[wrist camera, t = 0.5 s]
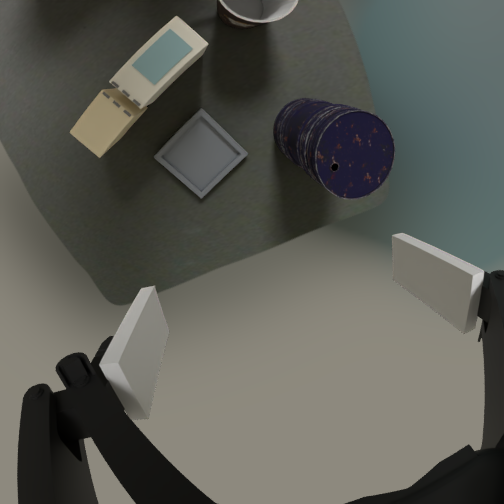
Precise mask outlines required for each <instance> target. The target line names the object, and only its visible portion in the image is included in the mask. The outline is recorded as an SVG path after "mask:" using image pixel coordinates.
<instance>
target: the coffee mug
mask: <svg viewBox="0 0 504 504" xmlns="http://www.w3.org/2000/svg"><path fill="white" fill-rule="evenodd" d="M297 3H298V0H217V10H218V14H219V17H220V18H221V20H222V21H223V22H224V23H225V24H227V25H229V26H230V27H233V28H237V29H248V28H251V27H255V26H258V25H261V24H265V23H268V22H272V21H276V20H279V19H281V18H283V17H285V16H287V15H288V14H289V13H291V11H292V10H293V9H294V8H295V6H296V5H297Z"/></svg>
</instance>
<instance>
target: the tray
mask: <svg viewBox="0 0 504 504" xmlns="http://www.w3.org/2000/svg"><path fill="white" fill-rule="evenodd" d="M247 155H248V153H247V152H246V151H245V150H244V149H243V148H242V147H241V146H240V145H239V144H238V143H237V142H236V141H235V140H234V139H233V138H232V137H231V136H230V135H229V134H228V133H227V132H226V131H225V130H224V129H223V128H222V127H221V126H220V125H219V124H218V123H217V122H216V121H215V120H214V119H213V118H212V117H211V116H210V115H209V114H208V113H206V112H205V111H204V110H203V109H202V108H200V109H199V110H198V111H197V112H196V113H195V114H194V115H193V116H192V117H191V118H190V119H189V120H188V121H187V122H186V123H185V124H184V125H183V126H182V127H181V128H180V129H179V130H178V131H177V132H176V133H175V134H174V135H173V136H172V137H171V138H170V139H169V140H168V141H167V142H166V143H165V144H164V146H163V147H162V148H161V149H160V150H159V151H158V152H157V153H156V154H155V155H154V158H155V159H156V160H157V161H158V162H159V163H161V164H162V165H163V166H164V167H165V168H166V169H168V170H169V171H170V172H171V173H172V174H173V175H175V176H176V177H177V178H178V179H179V180H180V181H181V182H183V183H184V184H185V185H186V186H187V187H188V188H190V189H191V190H192V191H193V192H194V193H195V194H197V195H198V196H199V197H200V198H201V199H202V198H203V197H204V196H205V195H206V194H207V193H208V192H209V191H210V190H211V189H212V188H213V187H214V186H215V185H216V184H217V183H218V182H219V181H220V180H221V179H222V178H223V177H224V176H225V175H226V174H227V173H229V172H230V171H231V170H232V169H233V168H234V167H235V166H236V165H237V164H238V163H239V162H240V161H241V160H242V159H243V158H245V157H246V156H247Z"/></svg>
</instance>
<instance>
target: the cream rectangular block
mask: <svg viewBox="0 0 504 504" xmlns="http://www.w3.org/2000/svg"><path fill="white" fill-rule="evenodd" d="M147 108H148V107H147V106H145V107H143V108H141V109H140V108H139V107H138V106H137V105H136V104H135V103H133V102H132V101H131V100H130V99H129V98H128V97H126V96H125V95H124V94H123V93H122V92H121V91H119V90H118V89H117V88H113V89H104V90H102V91H101V92H100V93H99V94H98V95H97V97H96V98H95V99H94V100H93V102H92V103H91V104H90V105H89V107H88V108H87V109H86V111H85V112H84V113H83V115H82V116H81V117H80V119H79V120H78V121H77V123H76V124H75V125H74V127H73V128H72V130H71V131H70V132H69V133H71V134H72V135H73V136H74V137H75V138H76V139H78V140H79V141H80V142H81V143H82V144H84V145H85V146H86V147H87V148H88V149H90V150H91V151H92V152H93V153H94V154H96V155H97V156H98V157H99V158H100V157H101V156H102V155H104V154H105V153H106V152H107V151H108V150H109V149H110V148H111V147H112V146H113V145H114V144H115V143H117V142H118V141H119V140H120V139H121V138H122V137H123V136H124V134H125V133H126V132H127V131H128V130H129V129H130V127H131V126H132V125H133V124H134V123H135V122H136V121H137V119H138V118H139V117H140V116H141V115H142V114H143V113H144V112H145V111H146V110H147Z"/></svg>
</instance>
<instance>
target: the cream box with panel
mask: <svg viewBox="0 0 504 504" xmlns="http://www.w3.org/2000/svg"><path fill="white" fill-rule="evenodd" d="M207 46H208V43H207V42H206V41H205V40H204V39H203V38H202V37H201V36H200V35H198V34H197V33H196V32H195V31H194V30H193V29H192V28H191V27H189V26H188V25H187V24H186V23H185V22H184V21H182V20H181V19H180V18H179V17H178V16H175V17H174V18H173V19H172V20H171V21H169V22H168V23H167V24H166V25H165V26H164V27H163V28H161V29H160V30H159V31H158V32H157V33H156V34H155V35H154V36H153V37H152V38H151V39H149V40H148V41H147V42H146V43H145V44H144V45H143V46H142V47H141V48H140V49H139V50H138V51H137V52H136V53H135V54H134V55H133V56H132V57H131V58H130V59H129V60H128V61H127V62H126V63H125V65H124V66H123V67H122V68H121V69H120V70H119V71H118V72H117V73H116V74H115V75H114V77H113V78H112V79H111V80H110V81H109V82H110V83H111V84H112V85H114V86H115V87H116V88H117V89H118V90H119V91H121V92H122V93H123V94H124V95H125V96H126V97H128V98H129V99H130V100H131V101H132V102H133V103H135V104H136V105H137V106H138V107H139V108H140V109H141V108H143V107H145V106H147V105H149V104H151V103H153V102H154V101H155V100H156V99H157V98H158V97H159V96H160V95H161V94H162V93H163V92H164V91H165V90H166V89H167V88H168V87H169V86H170V85H171V84H172V83H173V82H174V81H175V80H176V79H177V78H178V77H179V76H180V75H181V74H182V73H183V72H184V71H185V70H187V69H188V68H189V67H190V66H191V65H192V64H193V63H194V62H195V61H197V60H198V59H199V58H200V57H201V56H202V55H203V54H204V52H205V50H206V48H207Z"/></svg>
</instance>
